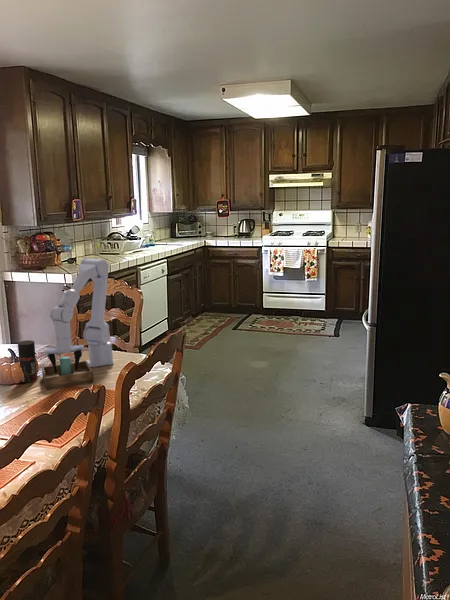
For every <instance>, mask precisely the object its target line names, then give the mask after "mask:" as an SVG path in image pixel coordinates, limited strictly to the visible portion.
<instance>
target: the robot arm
mask: <svg viewBox="0 0 450 600" xmlns="http://www.w3.org/2000/svg"><path fill="white" fill-rule="evenodd" d="M109 268H110V267H109V264H108V263H107V261H106V260H105V259H103V258H102V259H97V258H96V259H95V258H87V257H86V258H83V259H82V260H81V262H80V264H79V265H78V270H79V272H78V273H77V276H76V277H75V280H74V282H73V284H72V286H71V288H70V289H67V290H65V292H64V293H63V295H62V298H60V301H58V304H57V305H56V306H54V307H52V309H51V311H50V314H49V317H50V319H51V320H52V324H53V326H54V336H55V345H56V346H55V347H52V348H47V349H44V353H43V354H44V356H45V357H48V359H49V361H50V362H51V366H53V367H54V371H55V373H57V369H56V365H57V362H56V361H57V360H56V355H60V354H66V353H68V354H69V353H73V356H74V357H73V359H74V363H75V370H78V363H79V362H80V360H81V357H82V354H83V352H85V346H84V344H81V345H80V344H79V345H73V344H72V342H73V341H72V328H71V320H72V319H73V318H74V312H75V306H77V304H78V303H79V302H78V301H79V300H80V298H81V297H80V292H81V291H82V290H83V288H84V287H85V285H86V284H87V282H88V281H89V280H90V279H91V281H92V282H93V290H92V301H91V310H90V311H91V314H90V320H89V321H87V322H86V323H85V327H84V330H83V332H82V333H83V334H82V336H83V340H84V341H85V342H86V344H87V345H88V347H87V348H88V356H89V357H88V358H89V359H88V360H86V361H87V363H88V365H89V366H90V368H96V367H101V366H110V365H114V360H113V346H112V342H111V341H109V340H110V338H111V334H110V325H109V324H108V323H107V322H106V321H105V313H106V302H107V301H106V300H107V290H108V278H109Z"/></svg>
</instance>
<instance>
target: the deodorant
mask: <svg viewBox="0 0 450 600" xmlns="http://www.w3.org/2000/svg"><path fill="white" fill-rule="evenodd" d="M17 351H18V362H19V364H20V365H19V368H20V367H21V368H22V371H23V373H24V378H25V379H24V381H25V384H26V383H27V384H28V383H33V382H36V381H38V371H37V362H36V361H37V359H36V358H37V357H36V346H35V341H34V340H32V339H31V340H27V339H26V340H21V341H18V342H17Z"/></svg>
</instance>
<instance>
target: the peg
mask: <svg viewBox="0 0 450 600" xmlns="http://www.w3.org/2000/svg"><path fill="white" fill-rule="evenodd" d="M71 363H72V361H71V356H62V357H61V356H60V358H59V365H60V369H61V376H63V375H69V374H72V371H71Z"/></svg>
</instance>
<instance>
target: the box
mask: <svg viewBox="0 0 450 600" xmlns="http://www.w3.org/2000/svg"><path fill="white" fill-rule="evenodd" d="M87 361H88V360H84V361H83V360H82V361H79V363H78V370H75V362H71V371H72V374H69V375H63V376H61V369H60V364H56V369H57V373H55V371H54V367H53V365H46V366H41V372H42V380H43V384H44V387H45V391H49V390H50V391H51V390H56V389H64V388H69V387H68V386H70V387H77V386H82V385H88V384H89V385H90V384H94V373H93V372H94V371H93V370H92V367H90V366H89V364H88V362H87ZM63 387H64V388H63Z"/></svg>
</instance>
